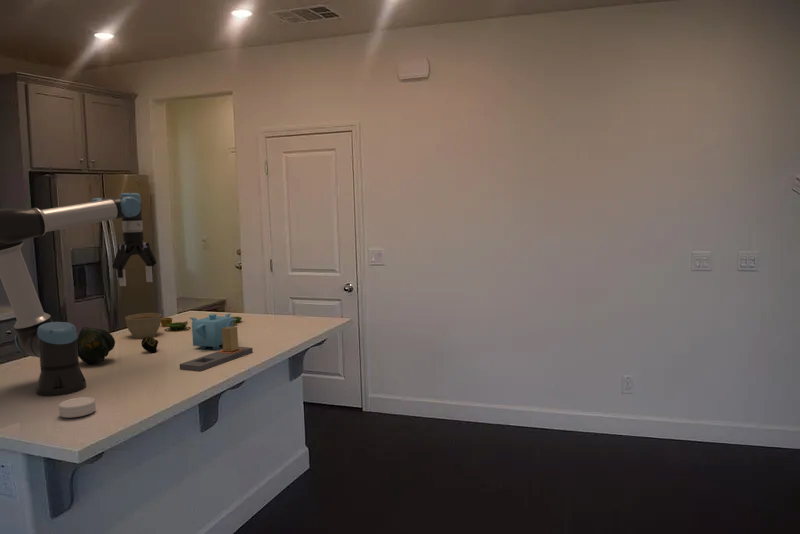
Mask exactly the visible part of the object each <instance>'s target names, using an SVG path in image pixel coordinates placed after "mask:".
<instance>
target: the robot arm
mask: <svg viewBox="0 0 800 534" xmlns="http://www.w3.org/2000/svg"><path fill="white" fill-rule="evenodd" d="M142 203H143V202H142V199H141V195H140V193H137V192H122V193H120V196H118V197H96V198H95V197H94V198H92V199H91V200H90V201H89V202H82V203H78V204H70V205H69V204H68V205H64V206H57V207H52V208H44V209H39V208H38V207H31V208H0V280H1V283H2V286H3V289H4V291H5V293H6V296H7V299H8V302H9V304H10V306H11V310H12V311H13V315H14V317H15V319H16V322H15V323H14V325H13V328H14V330H15V333H16V334H15V336H14V343H15V346H16V347H17V349H18V350H19V351H20V352H21V353H23V354H25V355H27V356H29V357H34V358H35V357H36V358H39V365H40V374H39V377H38V381H37V386H36V388H35V389H36V390H35V391H36V395H38V396H39V397H59V396H67V395H70V394H71V395H72V394H74V393H77V392H81V391H83V390H85V389H86V388H87V381H86V379H85V377H84V375H83V372H82V369H81V368H80V362H79V361H80V358H79V356H78V344H77V340H78V333H77V328H76V326H75V325H74V324H72V323H71V322H67V321H66V322H65V321H53V319H52V316H51V314H49V313H47V312H44V308H43V306H42V303H41V301H40V298H39V296H38V293H37V290H36V287H35V286H34V282H33V279H32V277H31V275H30V272H29V269H28V266H27V264H26V261H25V259H24V256H23V253H22V251H21V248H22V246H23V245H24V242H23V241H26V240H31V239H34V238H37V237H43V236H45V235H46V233H47V232H54V231H58V230H64V229H69V228H73V227H74V228H75V227H79V226H84V225H90V224H95V223H96V224H97V223H101V222H106V221H111V220H118V219H121V225H122V227H121V228H122V231H123V233H122V237H123V239H122V240H123V242H124V244H123V243H121V244H118V245H117V252H116V255H115V258H114V261H113V262H112V267H111V268H112V269H114V270H116V271H117V278H118V281H119V283H118V284H119V286H120V287H126V286H127V281H126V280H127V278H126V277H127V276H126V269H124V268H125V266H126V265H127V263H128V261H129V260H130V257H132V256H134V255H135V256H136V255H138V256H139V257H140V258H141V260H142V261H143V262H144V263H145V265H146V266H145V280H146V283H153V282H154V281H153V274H154V267H155V265H156V264H157V260H156V258H155V255H154V253H153V251H152V249H151V246H150V242H143V241H145V240H144V232H143V230H144V228H143V227H144V225H143V209H142Z"/></svg>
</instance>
